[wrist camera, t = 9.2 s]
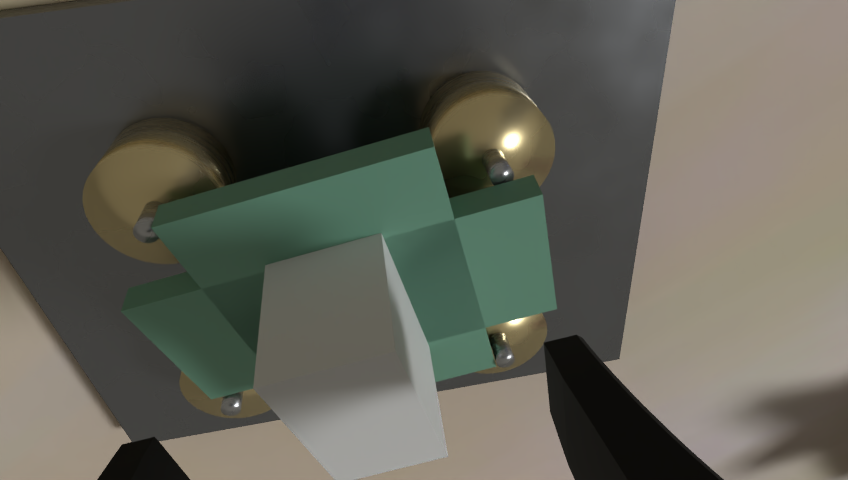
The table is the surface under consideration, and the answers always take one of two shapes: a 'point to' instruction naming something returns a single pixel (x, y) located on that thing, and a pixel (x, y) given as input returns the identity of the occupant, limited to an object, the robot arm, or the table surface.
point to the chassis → (313, 150)
